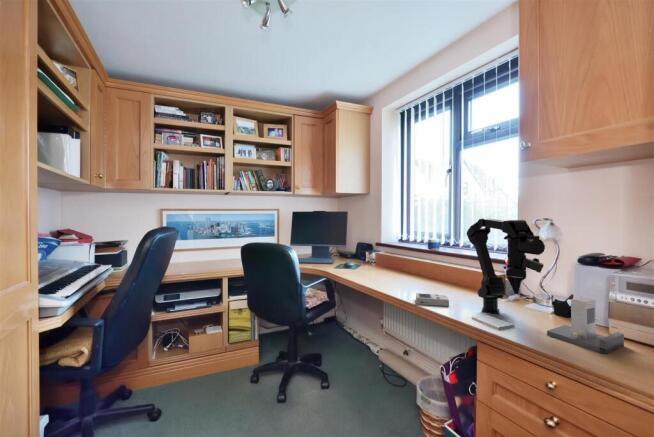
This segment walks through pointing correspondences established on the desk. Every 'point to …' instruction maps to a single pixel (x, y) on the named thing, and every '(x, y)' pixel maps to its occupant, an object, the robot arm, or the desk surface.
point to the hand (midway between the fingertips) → (516, 291)
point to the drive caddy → (583, 317)
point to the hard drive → (493, 322)
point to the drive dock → (595, 343)
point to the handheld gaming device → (432, 299)
